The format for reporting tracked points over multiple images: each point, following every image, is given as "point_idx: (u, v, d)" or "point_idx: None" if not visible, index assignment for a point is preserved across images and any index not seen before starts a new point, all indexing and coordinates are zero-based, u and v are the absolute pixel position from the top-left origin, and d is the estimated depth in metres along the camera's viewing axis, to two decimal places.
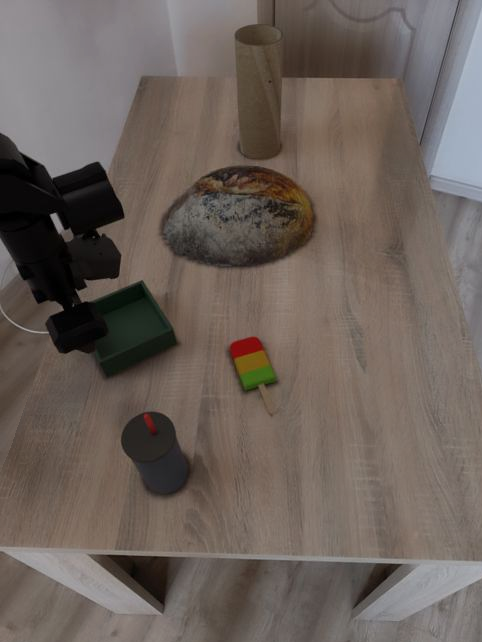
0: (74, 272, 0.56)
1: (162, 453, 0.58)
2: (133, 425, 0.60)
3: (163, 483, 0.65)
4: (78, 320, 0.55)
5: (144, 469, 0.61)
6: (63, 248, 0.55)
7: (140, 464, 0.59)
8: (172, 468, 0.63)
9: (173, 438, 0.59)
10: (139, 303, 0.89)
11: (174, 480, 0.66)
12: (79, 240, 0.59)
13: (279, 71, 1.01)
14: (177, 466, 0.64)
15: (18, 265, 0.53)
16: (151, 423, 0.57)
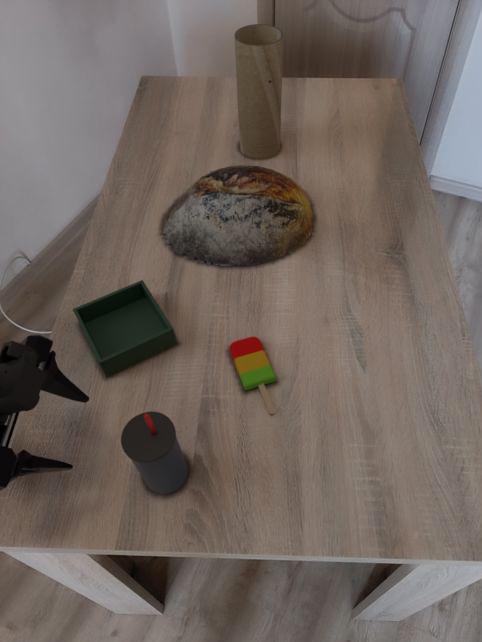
0: None
1: (162, 453, 0.58)
2: (133, 425, 0.60)
3: (163, 483, 0.65)
4: None
5: (144, 469, 0.61)
6: None
7: (140, 464, 0.59)
8: (172, 468, 0.63)
9: (173, 438, 0.59)
10: (139, 303, 0.89)
11: (174, 480, 0.66)
12: None
13: (279, 71, 1.01)
14: (177, 466, 0.64)
15: None
16: (151, 423, 0.57)
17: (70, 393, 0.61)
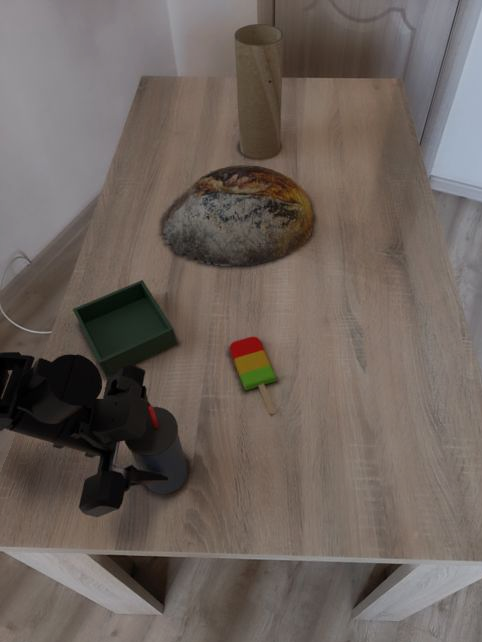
0: (90, 441, 0.55)
1: (164, 447, 0.58)
2: None
3: None
4: (91, 494, 0.54)
5: (145, 464, 0.61)
6: (73, 422, 0.54)
7: (141, 458, 0.60)
8: (173, 465, 0.63)
9: (175, 433, 0.60)
10: (139, 303, 0.89)
11: (174, 479, 0.66)
12: (106, 399, 0.56)
13: (279, 71, 1.01)
14: (178, 464, 0.64)
15: None
16: (154, 416, 0.58)
17: None
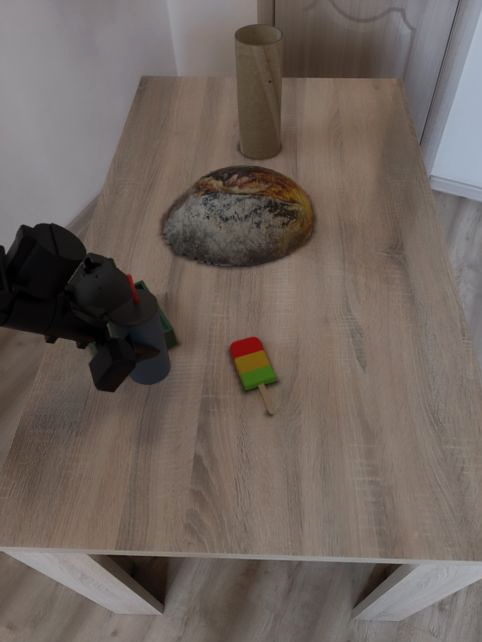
0: (84, 318, 0.57)
1: (151, 313, 0.62)
2: None
3: (154, 364, 0.68)
4: (103, 365, 0.57)
5: (136, 341, 0.64)
6: (62, 304, 0.56)
7: (132, 333, 0.62)
8: (160, 341, 0.67)
9: (156, 301, 0.64)
10: None
11: (163, 361, 0.69)
12: (84, 278, 0.58)
13: (279, 71, 1.01)
14: (163, 342, 0.68)
15: None
16: (133, 286, 0.61)
17: None
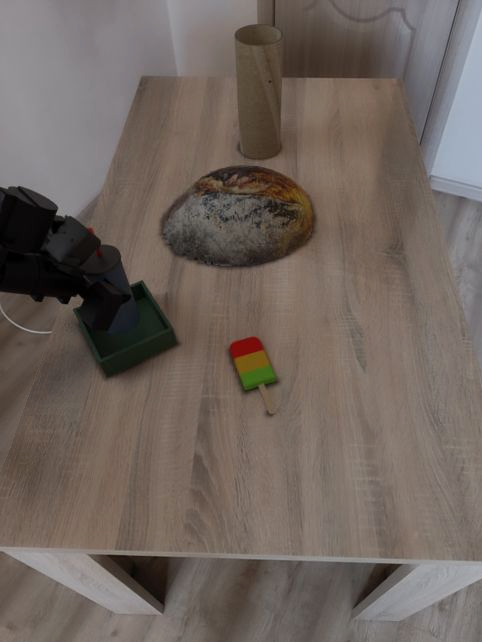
0: (66, 270, 0.63)
1: (117, 259, 0.70)
2: None
3: (127, 309, 0.76)
4: (95, 305, 0.64)
5: None
6: (43, 261, 0.62)
7: None
8: (128, 286, 0.75)
9: (117, 250, 0.72)
10: (139, 303, 0.89)
11: (134, 306, 0.77)
12: (53, 238, 0.65)
13: (279, 71, 1.01)
14: (130, 288, 0.76)
15: (29, 294, 0.63)
16: None
17: None
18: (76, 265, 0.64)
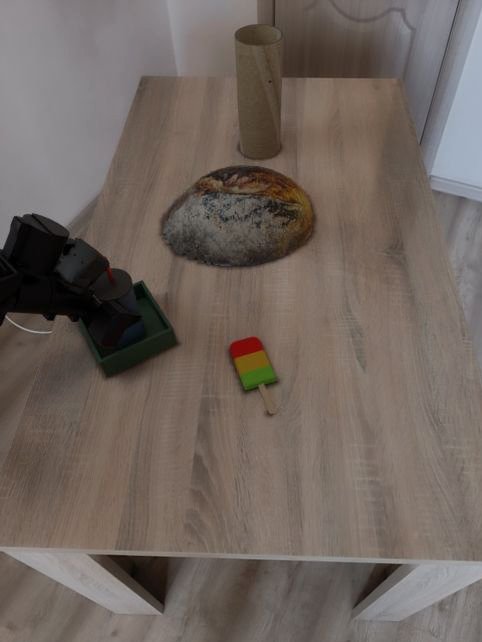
0: (76, 291, 0.67)
1: (129, 285, 0.73)
2: (93, 284, 0.73)
3: (135, 329, 0.80)
4: (104, 324, 0.67)
5: None
6: (55, 282, 0.65)
7: None
8: (137, 308, 0.78)
9: (128, 275, 0.74)
10: (139, 303, 0.89)
11: (141, 325, 0.81)
12: (64, 259, 0.68)
13: (279, 71, 1.01)
14: (138, 308, 0.79)
15: None
16: (109, 266, 0.71)
17: None
18: (86, 286, 0.68)
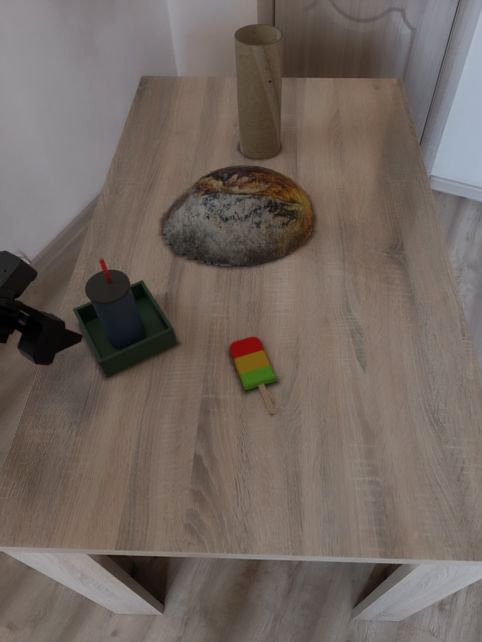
0: (0, 302, 0.59)
1: (127, 287, 0.73)
2: (90, 286, 0.73)
3: (135, 330, 0.80)
4: (34, 334, 0.59)
5: (119, 314, 0.75)
6: None
7: (115, 307, 0.73)
8: (136, 309, 0.78)
9: (126, 276, 0.74)
10: (139, 303, 0.89)
11: (140, 325, 0.81)
12: None
13: (279, 71, 1.01)
14: (137, 309, 0.79)
15: None
16: (106, 268, 0.71)
17: (30, 312, 0.72)
18: (11, 296, 0.60)
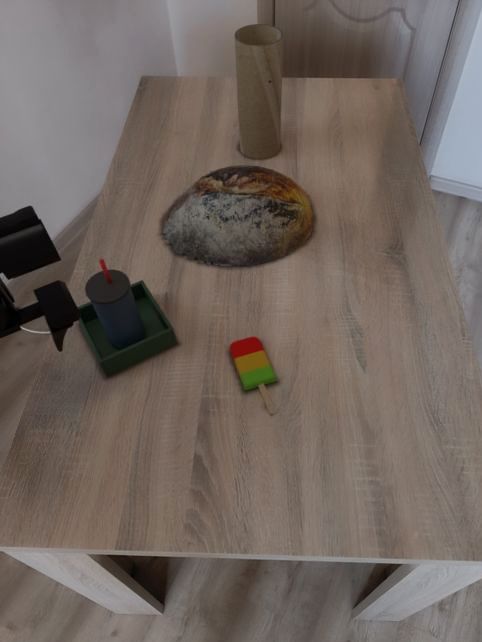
0: (2, 284, 0.58)
1: (127, 287, 0.73)
2: (90, 286, 0.73)
3: (135, 330, 0.80)
4: (55, 291, 0.60)
5: (119, 314, 0.75)
6: None
7: (115, 307, 0.73)
8: (136, 309, 0.78)
9: (126, 276, 0.74)
10: (139, 303, 0.89)
11: (140, 325, 0.81)
12: None
13: (279, 71, 1.01)
14: (137, 309, 0.79)
15: None
16: (106, 268, 0.71)
17: None
18: None
